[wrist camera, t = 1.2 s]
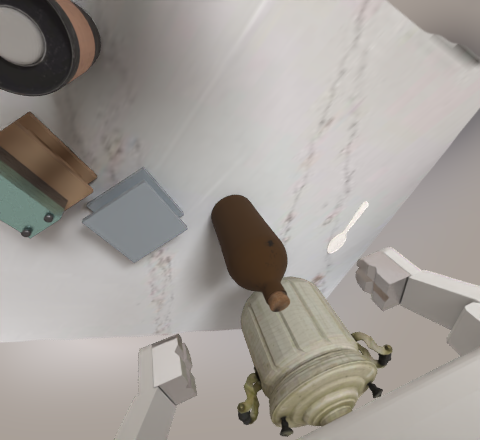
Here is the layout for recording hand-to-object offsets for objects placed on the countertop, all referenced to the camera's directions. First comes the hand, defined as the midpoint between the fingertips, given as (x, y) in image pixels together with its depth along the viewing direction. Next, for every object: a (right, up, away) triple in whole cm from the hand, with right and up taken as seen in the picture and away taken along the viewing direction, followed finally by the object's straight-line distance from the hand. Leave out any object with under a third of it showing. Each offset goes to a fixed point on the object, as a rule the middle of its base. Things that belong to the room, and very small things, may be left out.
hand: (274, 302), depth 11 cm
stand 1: (-33, +12, +29) cm, 46 cm away
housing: (-31, +8, +25) cm, 41 cm away
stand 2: (-21, +6, +38) cm, 44 cm away
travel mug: (-23, +27, +22) cm, 42 cm away
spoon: (+28, +1, +62) cm, 68 cm away
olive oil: (-3, +5, +46) cm, 47 cm away
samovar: (+3, -11, +60) cm, 61 cm away
